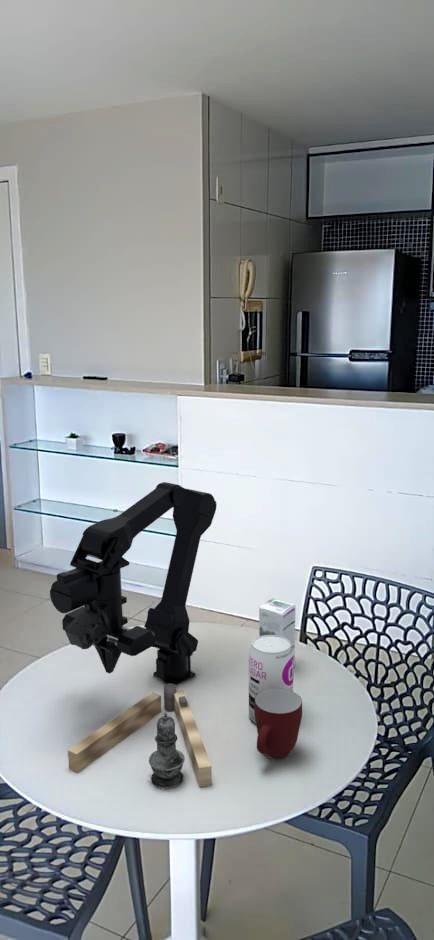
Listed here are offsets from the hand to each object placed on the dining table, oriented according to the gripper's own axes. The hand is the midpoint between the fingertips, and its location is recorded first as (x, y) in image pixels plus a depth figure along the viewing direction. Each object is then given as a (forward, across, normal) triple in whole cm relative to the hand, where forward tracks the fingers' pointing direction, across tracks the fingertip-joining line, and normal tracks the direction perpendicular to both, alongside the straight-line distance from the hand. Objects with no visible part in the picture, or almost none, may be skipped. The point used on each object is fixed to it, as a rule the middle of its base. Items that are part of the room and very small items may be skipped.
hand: (109, 672), depth 137 cm
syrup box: (+9, +16, +33) cm, 38 cm away
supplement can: (+9, +25, +16) cm, 31 cm away
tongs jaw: (+9, +7, -5) cm, 12 cm away
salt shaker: (+9, +21, -8) cm, 24 cm away
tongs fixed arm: (+9, +17, +1) cm, 19 cm away
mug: (+9, +32, +7) cm, 34 cm away
